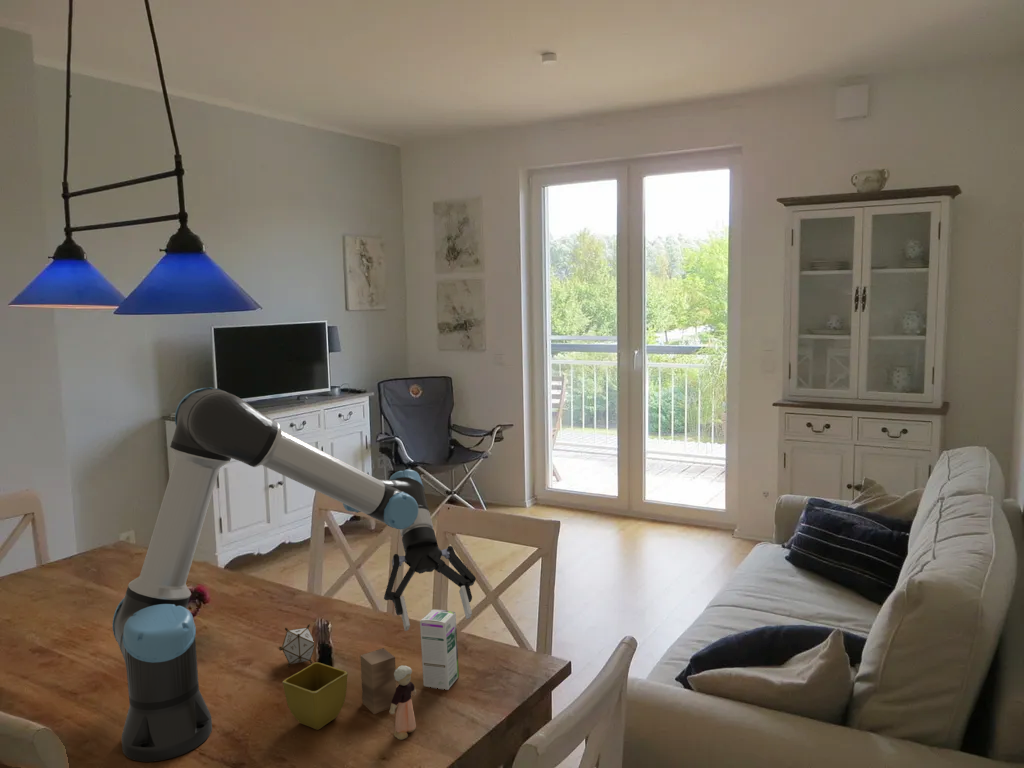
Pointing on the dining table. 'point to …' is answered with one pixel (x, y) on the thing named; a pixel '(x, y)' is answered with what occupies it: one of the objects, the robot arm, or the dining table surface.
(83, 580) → the dining table surface
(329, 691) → the flower pot
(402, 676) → the grandmother figurine
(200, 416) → the robot arm
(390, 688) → the walnut block
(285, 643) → the game die
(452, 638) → the syrup box
